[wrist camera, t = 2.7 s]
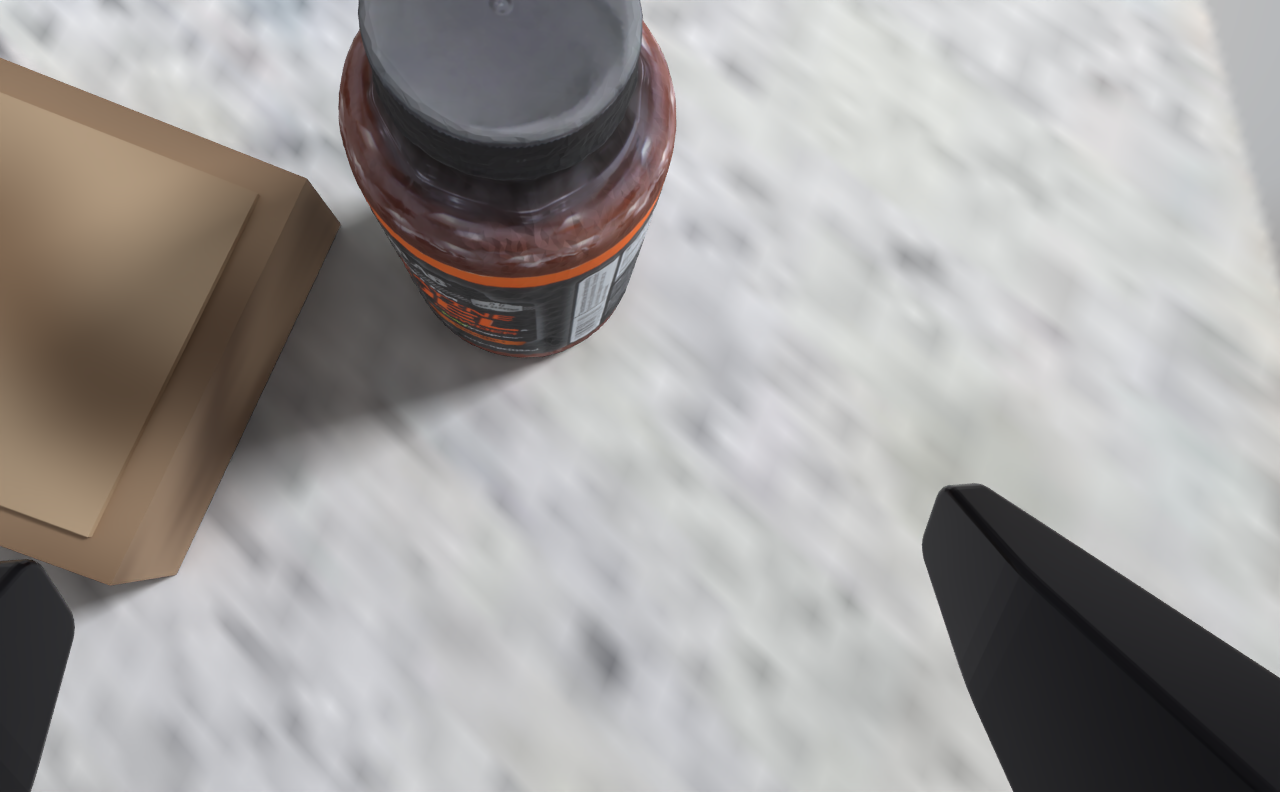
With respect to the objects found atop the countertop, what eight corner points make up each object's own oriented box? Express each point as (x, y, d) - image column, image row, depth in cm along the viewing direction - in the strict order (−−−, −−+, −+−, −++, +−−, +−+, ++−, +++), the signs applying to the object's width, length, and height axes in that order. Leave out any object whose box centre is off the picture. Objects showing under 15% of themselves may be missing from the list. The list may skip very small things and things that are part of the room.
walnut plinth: (176, 575, 20) (106, 586, 17) (-215, 432, 19) (-362, 416, 16) (341, 224, 22) (305, 176, 18) (-14, 85, 21) (-111, 11, 18)
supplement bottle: (374, 295, 21) (180, 59, 10) (487, 121, 22) (423, -262, 11) (565, 404, 22) (578, 287, 10) (669, 226, 23) (781, -52, 11)
